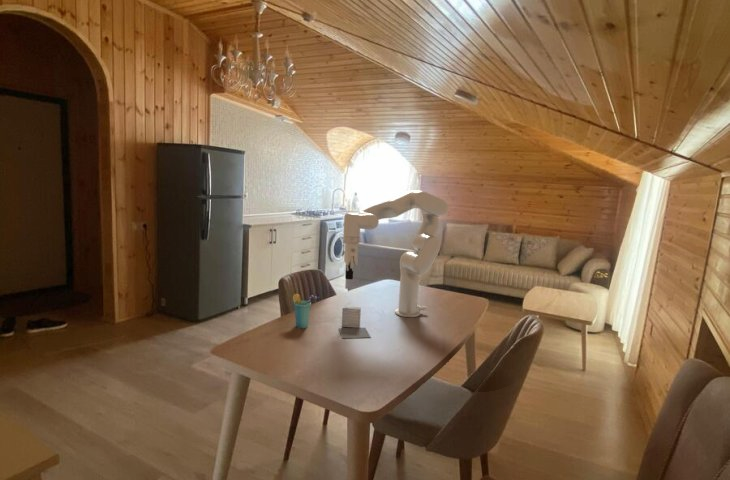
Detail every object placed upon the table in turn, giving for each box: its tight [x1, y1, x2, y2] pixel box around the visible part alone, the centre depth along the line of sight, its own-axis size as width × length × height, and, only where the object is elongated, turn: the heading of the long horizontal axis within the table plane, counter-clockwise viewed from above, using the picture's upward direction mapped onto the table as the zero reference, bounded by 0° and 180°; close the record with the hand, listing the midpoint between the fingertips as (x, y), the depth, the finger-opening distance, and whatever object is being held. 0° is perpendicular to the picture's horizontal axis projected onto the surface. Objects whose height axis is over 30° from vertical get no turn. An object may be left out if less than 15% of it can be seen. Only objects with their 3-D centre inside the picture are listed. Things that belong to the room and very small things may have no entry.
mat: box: [338, 327, 372, 340], centre depth 169 cm, size 12×11×1 cm
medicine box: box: [341, 305, 362, 328], centre depth 176 cm, size 8×4×9 cm, turn 84°
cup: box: [292, 293, 319, 329], centre depth 173 cm, size 14×8×15 cm, turn 66°
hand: (349, 278), depth 183 cm, fingers closed
